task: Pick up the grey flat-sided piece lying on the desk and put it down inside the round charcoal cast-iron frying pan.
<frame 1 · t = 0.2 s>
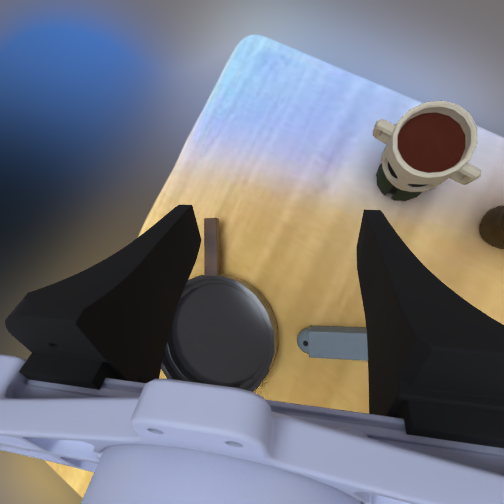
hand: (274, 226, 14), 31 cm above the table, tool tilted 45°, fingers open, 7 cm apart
pan: (219, 333, 46), on the table
pan handle: (211, 247, 44), point 3 cm above the table
character mug: (400, 178, 41), on the table
kendama: (501, 228, 38), on the table
grey flat-sided piece: (341, 338, 42), on the table
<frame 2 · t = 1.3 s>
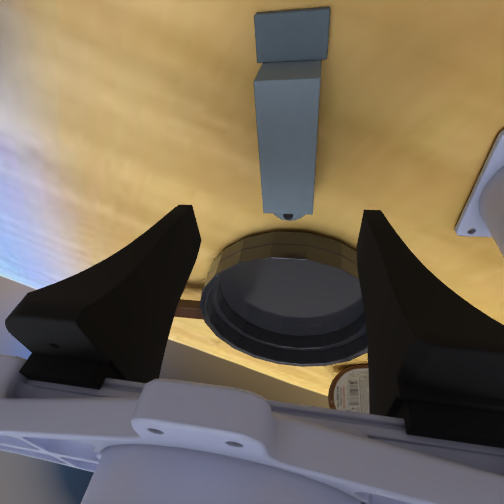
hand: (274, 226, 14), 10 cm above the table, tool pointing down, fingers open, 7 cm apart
pan: (291, 293, 32), on the table
pan handle: (167, 307, 32), point 3 cm above the table
tin: (389, 365, 39), on the table
grey flat-sided piece: (292, 128, 20), on the table
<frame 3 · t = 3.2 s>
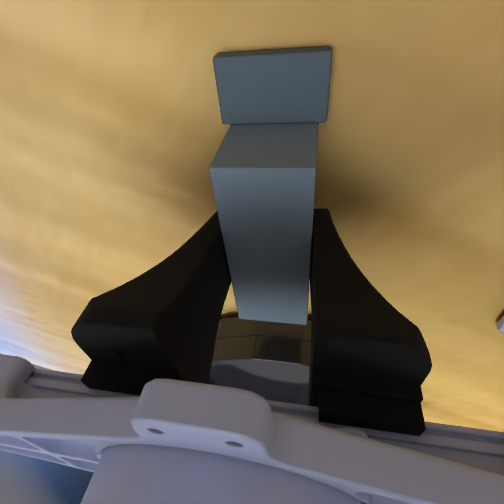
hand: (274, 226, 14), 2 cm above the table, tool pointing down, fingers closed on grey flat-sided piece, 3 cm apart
pan: (284, 371, 26), on the table
grey flat-sided piece: (278, 204, 15), on the table, touching gripper
when the fingers open (2 cm above the table, at t = 7.8 s): grey flat-sided piece stays where it is, resting on pan.
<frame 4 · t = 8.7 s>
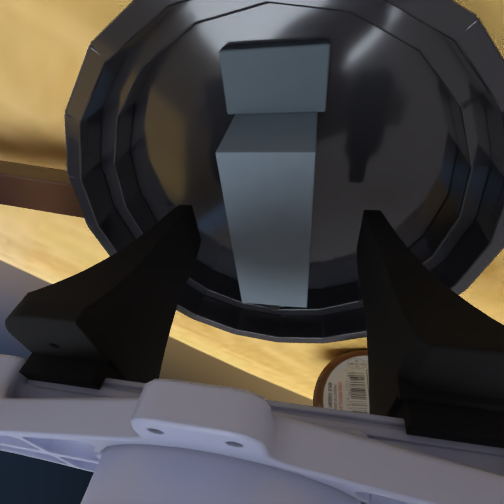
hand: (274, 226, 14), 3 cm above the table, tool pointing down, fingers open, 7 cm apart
pan: (281, 188, 16), on the table
pan handle: (4, 183, 14), point 2 cm above the table
tin: (413, 353, 24), on the table
grey flat-sided piece: (279, 192, 15), resting on pan
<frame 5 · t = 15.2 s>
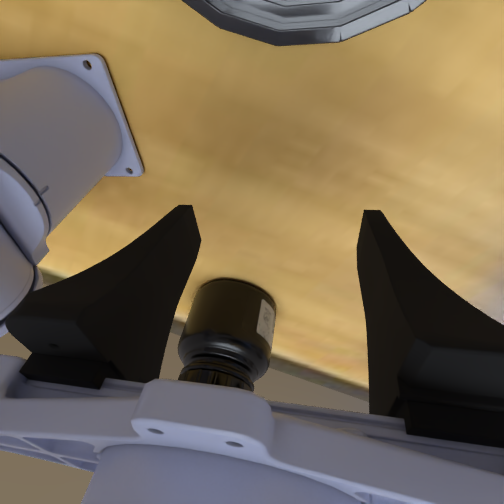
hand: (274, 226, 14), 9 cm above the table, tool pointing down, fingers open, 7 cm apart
ink bottle: (236, 302, 34), on the table
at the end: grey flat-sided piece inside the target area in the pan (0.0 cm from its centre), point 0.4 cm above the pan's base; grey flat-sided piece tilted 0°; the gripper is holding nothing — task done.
